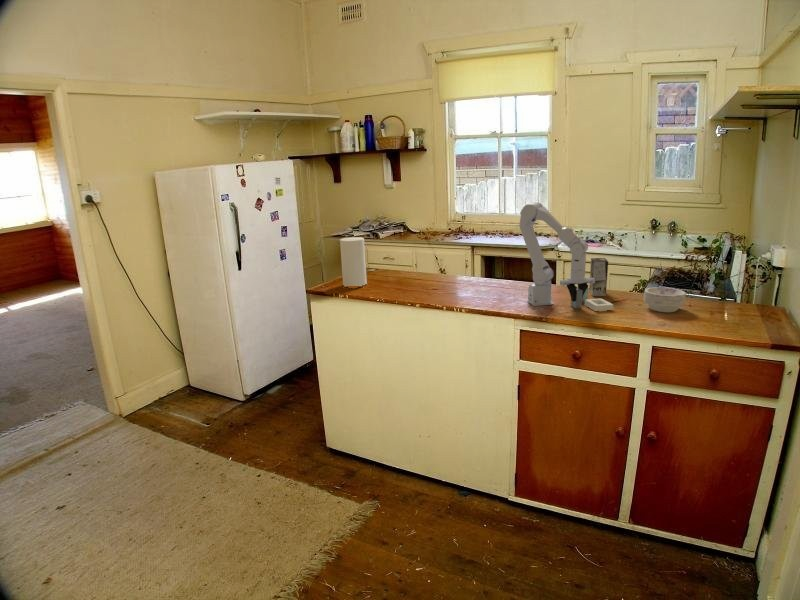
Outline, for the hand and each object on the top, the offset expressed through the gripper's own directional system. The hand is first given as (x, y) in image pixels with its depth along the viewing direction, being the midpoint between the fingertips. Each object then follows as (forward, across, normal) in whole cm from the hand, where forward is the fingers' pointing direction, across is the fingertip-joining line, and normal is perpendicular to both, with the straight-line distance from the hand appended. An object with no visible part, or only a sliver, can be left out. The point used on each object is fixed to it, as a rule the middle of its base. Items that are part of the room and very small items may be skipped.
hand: (576, 300), depth 223 cm
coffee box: (+3, +19, +18) cm, 26 cm away
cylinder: (+3, -91, +67) cm, 113 cm away
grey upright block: (+3, +7, +9) cm, 12 cm away
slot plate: (+3, +8, -3) cm, 10 cm away
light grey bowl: (+3, +32, -12) cm, 34 cm away
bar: (+3, 0, 0) cm, 3 cm away
